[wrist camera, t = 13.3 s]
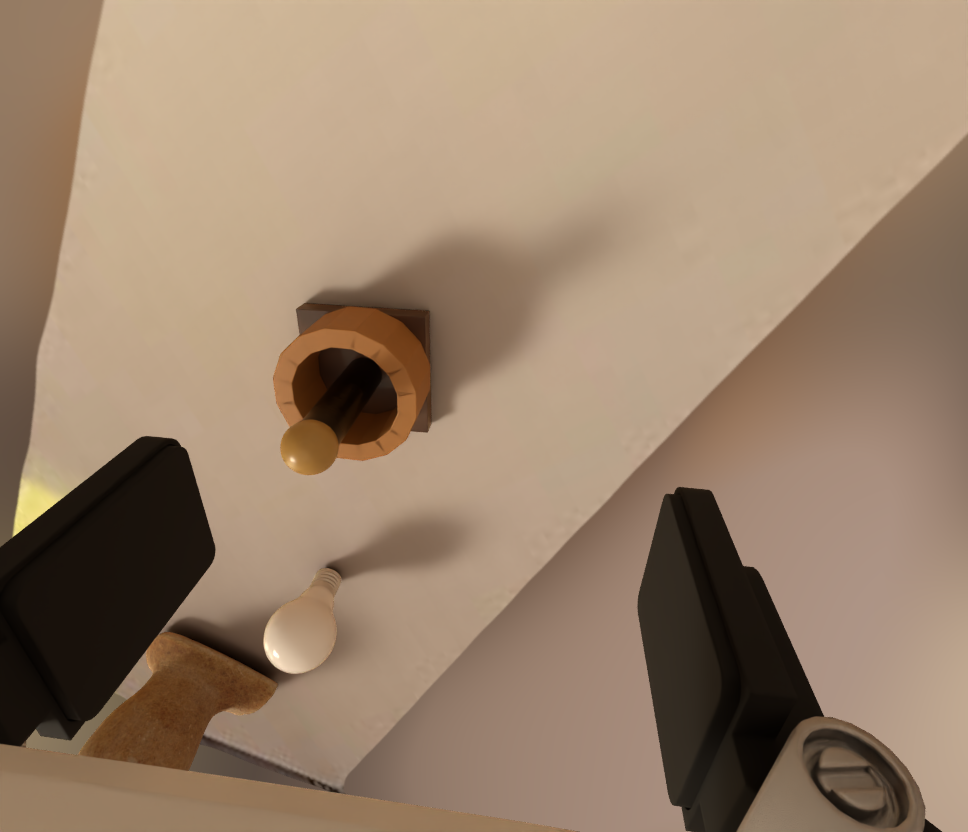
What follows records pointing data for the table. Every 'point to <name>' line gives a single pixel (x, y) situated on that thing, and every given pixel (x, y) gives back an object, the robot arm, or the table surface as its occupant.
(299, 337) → the tape roll
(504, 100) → the table surface
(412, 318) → the hook base
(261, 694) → the brown boot
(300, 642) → the lightbulb
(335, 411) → the hook peg
